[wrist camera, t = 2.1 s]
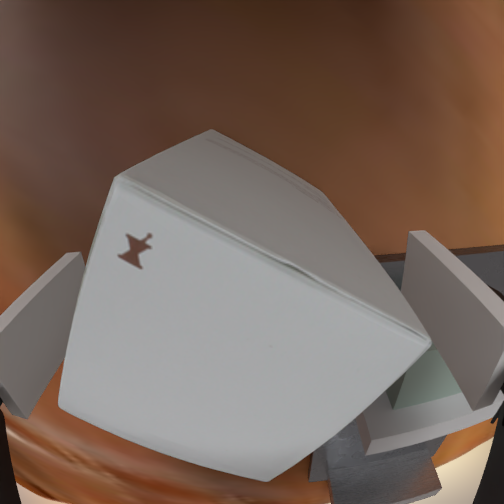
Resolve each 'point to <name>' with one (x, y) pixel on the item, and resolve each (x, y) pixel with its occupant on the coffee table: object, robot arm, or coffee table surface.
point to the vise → (402, 459)
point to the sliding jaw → (419, 408)
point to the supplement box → (230, 314)
